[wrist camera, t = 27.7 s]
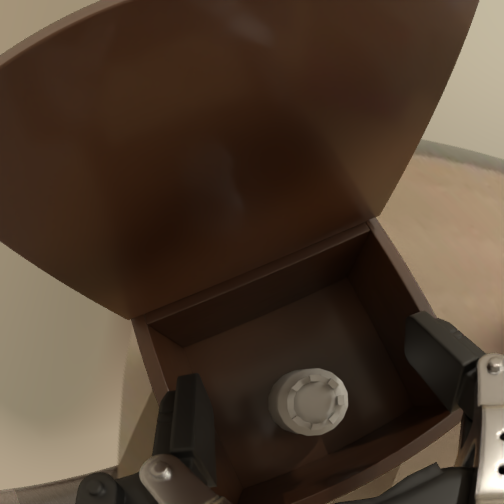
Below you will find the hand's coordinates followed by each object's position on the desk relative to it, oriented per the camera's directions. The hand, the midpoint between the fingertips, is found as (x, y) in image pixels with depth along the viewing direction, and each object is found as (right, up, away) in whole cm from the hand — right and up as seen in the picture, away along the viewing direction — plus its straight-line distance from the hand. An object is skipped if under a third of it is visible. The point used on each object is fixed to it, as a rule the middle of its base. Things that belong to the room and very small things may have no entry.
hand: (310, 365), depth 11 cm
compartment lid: (-2, +6, -1) cm, 6 cm away
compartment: (+1, -5, +10) cm, 11 cm away
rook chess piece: (+1, -6, +9) cm, 11 cm away
